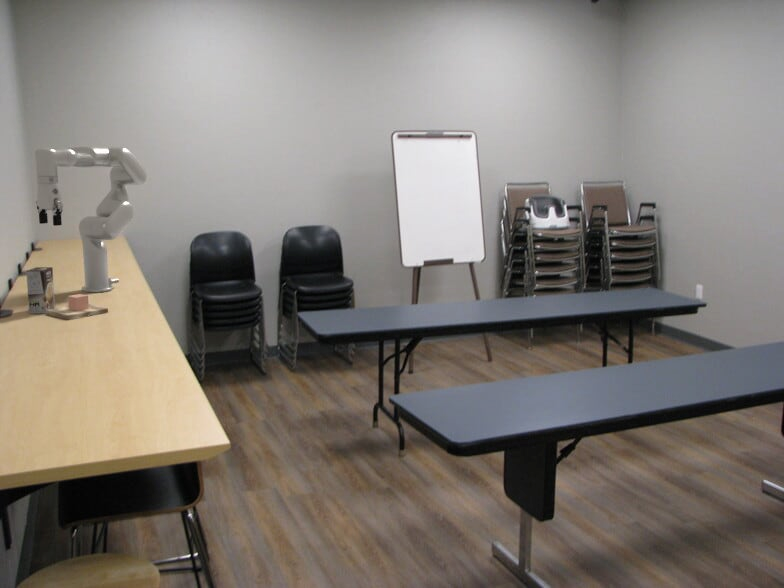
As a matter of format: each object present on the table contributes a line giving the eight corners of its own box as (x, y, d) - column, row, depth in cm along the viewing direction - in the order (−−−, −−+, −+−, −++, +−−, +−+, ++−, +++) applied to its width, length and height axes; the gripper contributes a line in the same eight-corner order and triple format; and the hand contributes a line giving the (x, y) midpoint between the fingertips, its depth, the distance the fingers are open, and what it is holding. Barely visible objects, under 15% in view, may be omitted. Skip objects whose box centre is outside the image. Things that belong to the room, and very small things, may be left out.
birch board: (86, 306, 285) (86, 303, 284) (108, 312, 277) (107, 308, 277) (47, 314, 272) (46, 310, 272) (68, 319, 264) (68, 315, 264)
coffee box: (46, 313, 272) (43, 271, 269) (28, 313, 272) (25, 270, 268) (55, 308, 281) (52, 266, 278) (38, 308, 281) (35, 266, 277)
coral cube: (80, 306, 278) (80, 293, 277) (88, 308, 275) (88, 295, 274) (68, 309, 274) (67, 295, 273) (76, 311, 271) (75, 297, 270)
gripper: (69, 181, 285) (71, 225, 289) (44, 179, 295) (47, 222, 298) (50, 181, 279) (53, 226, 283) (26, 179, 289) (29, 223, 292)
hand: (50, 224), depth 290 cm, fingers open, 9 cm apart
